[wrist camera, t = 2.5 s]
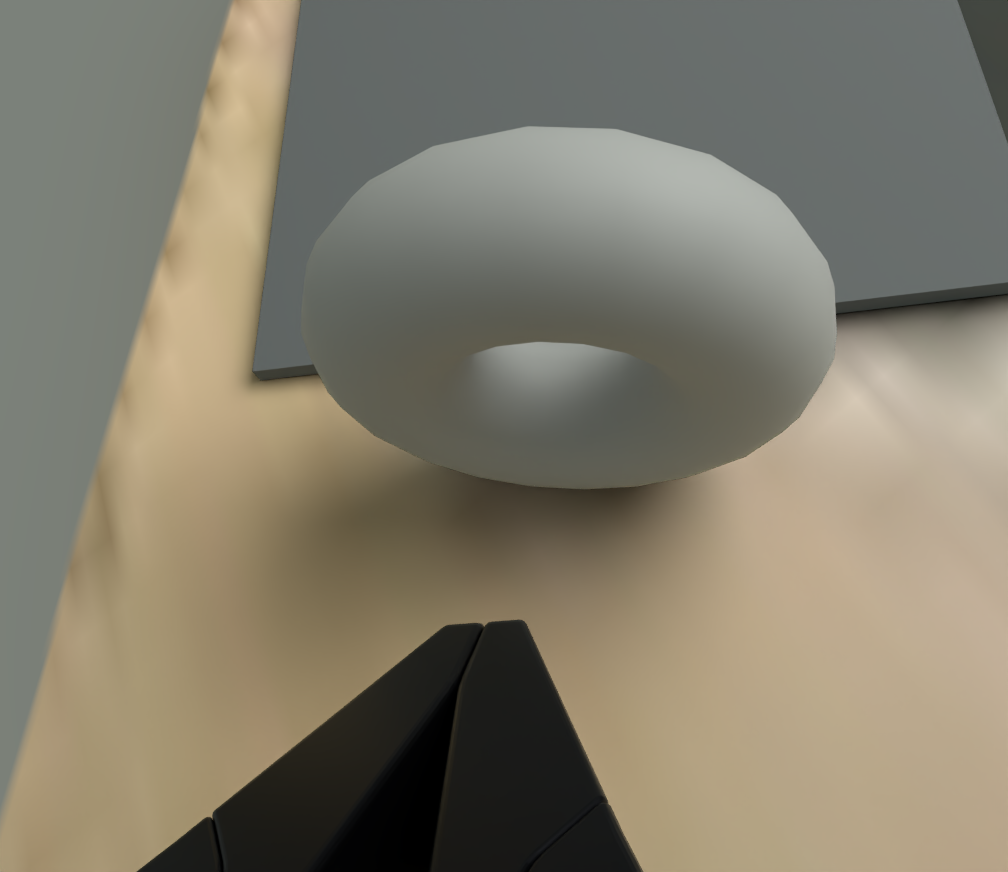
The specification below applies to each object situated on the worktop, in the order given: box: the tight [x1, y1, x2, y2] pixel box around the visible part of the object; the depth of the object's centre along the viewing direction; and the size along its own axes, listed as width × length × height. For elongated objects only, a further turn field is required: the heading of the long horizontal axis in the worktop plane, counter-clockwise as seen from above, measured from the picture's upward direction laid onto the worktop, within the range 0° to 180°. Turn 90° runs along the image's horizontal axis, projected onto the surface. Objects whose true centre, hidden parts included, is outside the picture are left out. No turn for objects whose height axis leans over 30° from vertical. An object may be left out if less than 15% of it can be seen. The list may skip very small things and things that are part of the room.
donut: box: [301, 126, 837, 489], centre depth 17 cm, size 10×4×10 cm, turn 85°
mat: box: [252, 0, 1008, 380], centre depth 26 cm, size 20×20×1 cm
